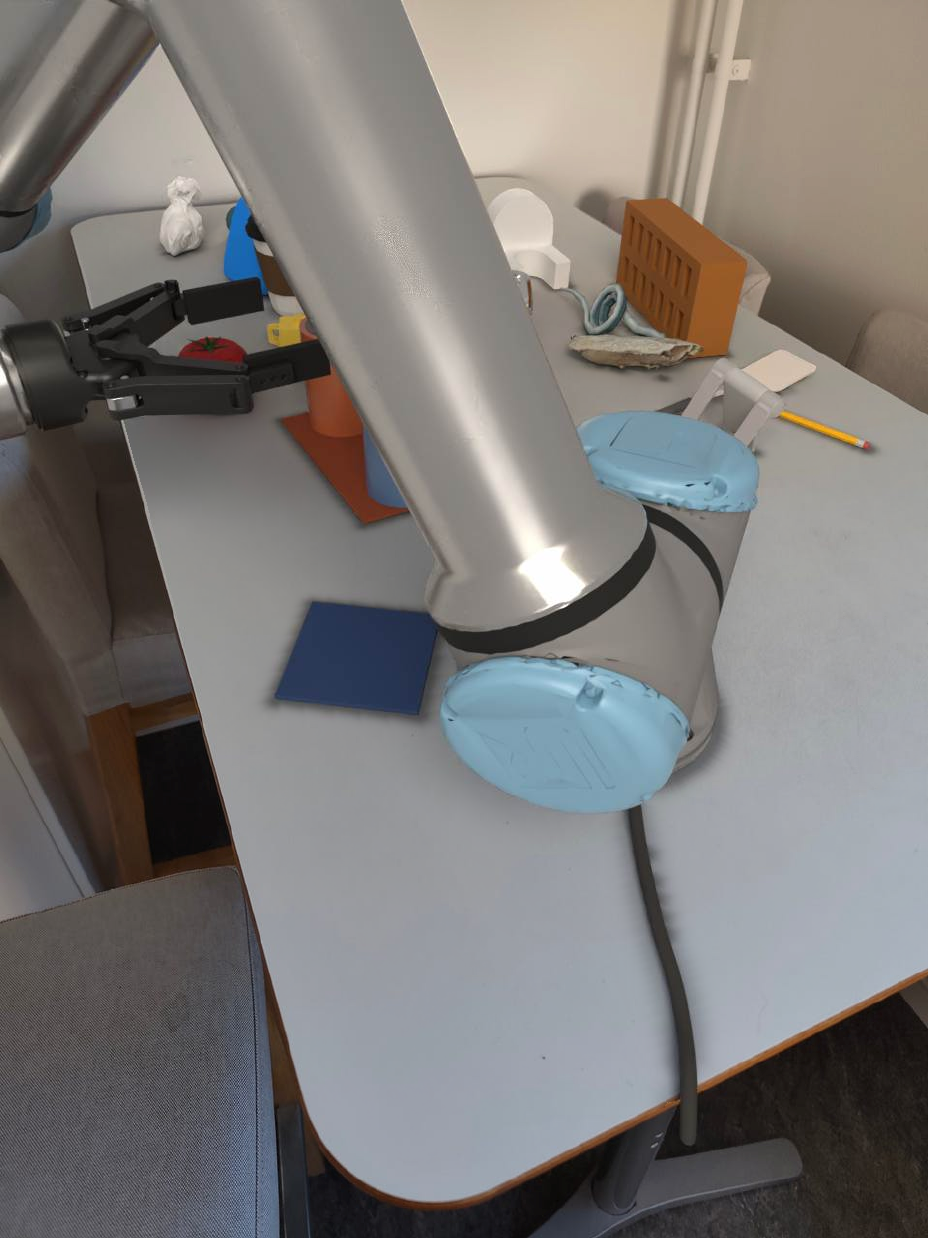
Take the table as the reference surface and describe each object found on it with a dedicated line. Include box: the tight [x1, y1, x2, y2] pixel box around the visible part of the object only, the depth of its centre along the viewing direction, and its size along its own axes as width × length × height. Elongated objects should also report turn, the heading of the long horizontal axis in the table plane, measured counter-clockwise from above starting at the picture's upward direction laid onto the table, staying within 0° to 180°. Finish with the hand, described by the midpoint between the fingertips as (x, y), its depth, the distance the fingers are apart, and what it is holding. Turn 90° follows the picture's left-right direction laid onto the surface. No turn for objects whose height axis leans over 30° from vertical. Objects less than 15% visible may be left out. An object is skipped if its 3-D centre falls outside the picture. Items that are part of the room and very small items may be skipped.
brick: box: [615, 197, 749, 359], centre depth 116 cm, size 25×12×6 cm
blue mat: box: [274, 601, 438, 716], centre depth 69 cm, size 11×11×1 cm
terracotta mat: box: [281, 411, 410, 525], centre depth 92 cm, size 22×12×1 cm, turn 30°
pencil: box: [778, 410, 871, 450], centre depth 98 cm, size 1×13×1 cm
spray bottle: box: [222, 196, 269, 296], centre depth 120 cm, size 3×11×24 cm, turn 43°
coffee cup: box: [245, 215, 305, 317], centre depth 115 cm, size 11×11×12 cm
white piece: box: [487, 187, 572, 290], centre depth 129 cm, size 18×10×11 cm, turn 19°
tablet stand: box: [680, 357, 788, 453], centre depth 91 cm, size 9×8×8 cm
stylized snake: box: [559, 283, 667, 338], centre depth 117 cm, size 7×20×6 cm
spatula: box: [654, 349, 817, 415], centre depth 102 cm, size 6×29×2 cm, turn 124°
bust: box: [158, 175, 204, 257], centre depth 133 cm, size 12×8×11 cm
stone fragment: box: [568, 329, 705, 377], centre depth 107 cm, size 19×8×5 cm, turn 77°
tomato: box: [176, 335, 248, 363], centre depth 97 cm, size 9×9×8 cm
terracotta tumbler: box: [299, 317, 362, 437], centre depth 93 cm, size 8×8×11 cm
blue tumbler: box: [361, 421, 408, 508], centre depth 83 cm, size 8×8×11 cm
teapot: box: [267, 313, 306, 347], centre depth 108 cm, size 8×6×5 cm
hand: (292, 322), depth 70 cm, fingers open, 13 cm apart
